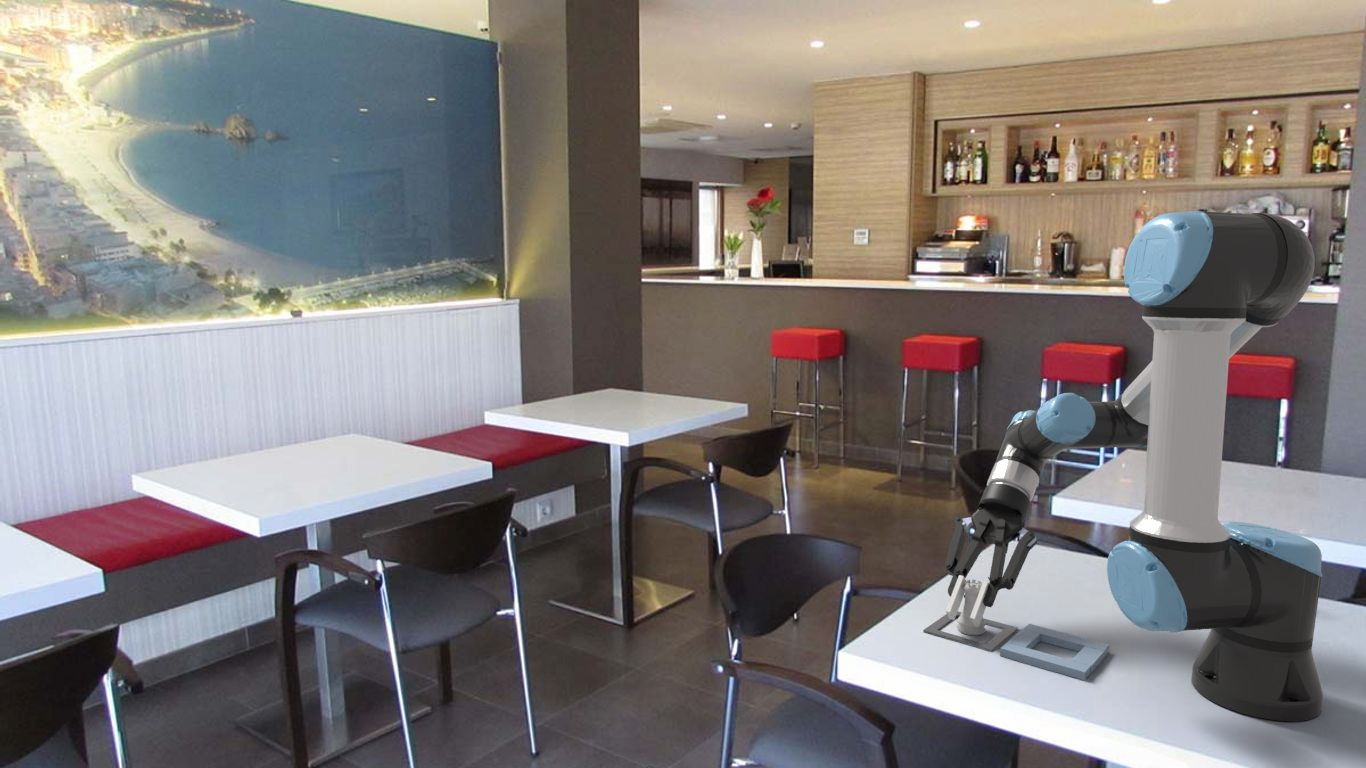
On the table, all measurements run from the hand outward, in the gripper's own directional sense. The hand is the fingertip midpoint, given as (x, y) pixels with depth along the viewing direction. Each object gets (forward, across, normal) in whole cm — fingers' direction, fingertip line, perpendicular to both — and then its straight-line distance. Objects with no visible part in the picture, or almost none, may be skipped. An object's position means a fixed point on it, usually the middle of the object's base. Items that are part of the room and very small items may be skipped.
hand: (962, 618), depth 142 cm
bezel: (0, 0, -5) cm, 5 cm away
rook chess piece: (0, 0, -5) cm, 5 cm away
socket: (0, -13, -5) cm, 14 cm away
